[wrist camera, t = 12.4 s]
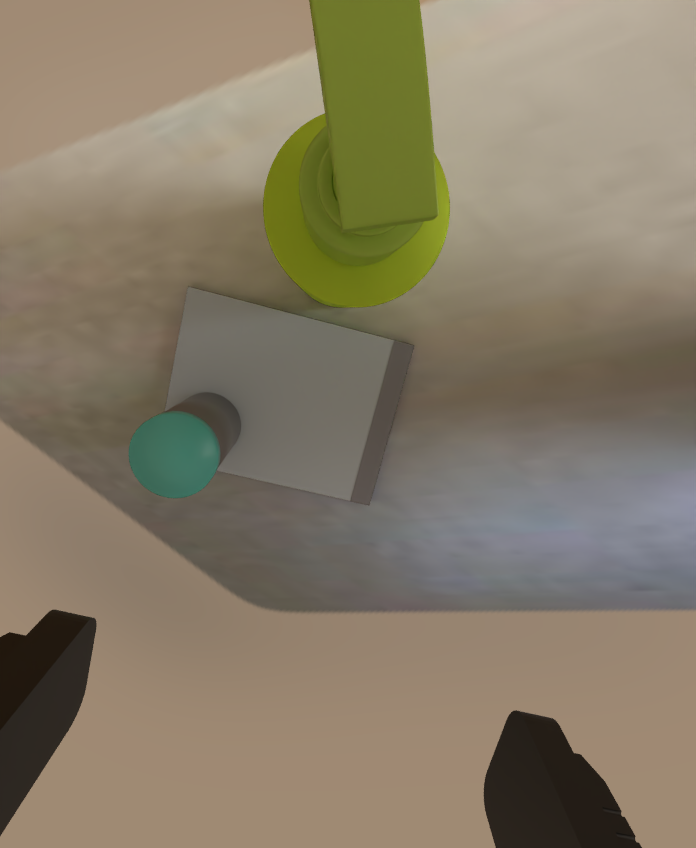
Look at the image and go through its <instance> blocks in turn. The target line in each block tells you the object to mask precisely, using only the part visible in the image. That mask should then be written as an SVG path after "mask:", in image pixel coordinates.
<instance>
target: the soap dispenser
mask: <svg viewBox="0 0 696 848" xmlns="http://www.w3.org/2000/svg"><path fill="white" fill-rule="evenodd" d="M309 2H310V9H311V16H312V23H313V30H314V36H315V45H316V52H317V59H318V66H319V73H320V80H321V87H322V95H323V102H324V109H325V114H322V115H320V116H318V117H316V118H314V119H312V120H311V121H309V122H307V123H306V124H304V125H303V126H302V127H300V128H299V129H298V130H297V131H296V132H295V133H294V134H293V135H292V136H291V137H290V138H289V139H288V140H287V141H286V142H285V144H284V145H283V146H282V148H281V149H280V151H279V152H278V154H277V156H276V158H275V160H274V162H273V164H272V166H271V169H270V171H269V174H268V177H267V181H266V185H265V191H264V200H263V215H264V223H265V229H266V233H267V237H268V240H269V243H270V246H271V248H272V251H273V253H274V255H275V257H276V258H277V260H278V262H279V263H280V265H281V267H282V268H283V269H284V271H285V272H286V273H287V274H288V276H289V277H290V278H291V279H292V280H293V281H294V282H295V283H296V284H297V285H298V286H299V287H300V288H301V289H303V290H304V291H305V292H306V293H307V294H308V295H309V296H310V297H312V298H313V299H315V300H316V301H318V302H320V303H322V304H325V305H328V306H332V307H339V308H347V307H369V306H375V305H379V304H383V303H386V302H388V301H391V300H393V299H395V298H397V297H399V296H401V295H403V294H404V293H406V292H407V291H409V290H410V289H411V288H413V287H414V286H415V285H416V284H417V283H418V282H419V281H420V280H421V279H422V278H423V277H424V276H425V275H426V274H427V273H428V271H429V270H430V269H431V267H432V266H433V264H434V263H435V261H436V259H437V257H438V255H439V254H440V251H441V249H442V247H443V244H444V241H445V238H446V234H447V230H448V224H449V216H450V200H449V191H448V186H447V182H446V178H445V175H444V172H443V169H442V167H441V164H440V162H439V160H438V158H437V157H436V155H435V153H434V145H433V133H432V121H431V109H430V98H429V86H428V76H427V65H426V55H425V46H424V36H423V27H422V19H421V11H420V3H419V0H309Z"/></svg>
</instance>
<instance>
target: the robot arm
mask: <svg viewBox="0 0 696 848" xmlns="http://www.w3.org/2000/svg"><path fill="white" fill-rule="evenodd" d="M95 632H96V620H95V618H91V617H86V616H81V615H77V614H72V613H68V612H63V611H59V610H51V611H50V612H49V613H48V614H46V615H45V616H44V617H43V619H41V621H40V622H39V623H38V624H37V625H36V626H35V627H34V628H33V629H32V630H31V631H30V632H29V633H28V634H27V635H26V636H25V635H20V634H15V633H10V632H9V633H7V634H6V635H4V636H2V637H0V836H1V834H2V832H3V831H4V829H5V828H6V826H7V825H8V823H9V822H10V820H11V818H12V817H13V815H14V814H15V812H16V811H17V809H18V807H19V806H20V804H21V803H22V801H23V800H24V798H25V797H26V795H27V794H28V792H29V791H30V789H31V787H32V786H33V784H34V783H35V781H36V780H37V778H38V777H39V775H40V773H41V772H42V770H43V769H44V767H45V766H46V764H47V763H48V761H49V759H50V758H51V756H52V755H53V753H54V752H55V750H56V749H57V747H58V746H59V744H60V742H61V741H62V739H63V738H64V736H65V735H66V733H67V732H68V730H69V728H70V727H71V725H72V723H73V721H74V719H75V717H76V715H77V713H78V711H79V708H80V706H81V703H82V700H83V697H84V694H85V690H86V684H87V678H88V673H89V667H90V661H91V655H92V650H93V644H94V638H95ZM484 805H485V811H486V815H487V818H488V822H489V825H490V829H491V832H492V836H493V839H494V843H495V846H496V848H642V847H641V846H640V844H639V843H637V842H636V841H635V835H634V833H633V831H632V829H631V828H630V826H629V824H628V822H627V820H626V819H625V817H622V816H621V810H620V808H619V806H618V804H617V802H616V801H615V799H614V797H613V795H612V794H611V792H610V790H609V788H608V786H607V785H606V783H605V781H604V780H603V779H602V778H601V777H600V776H599V774H598V773H597V772H596V771H595V770H594V769H593V768H592V767H591V766H590V764H589V763H588V762H587V761H586V760H585V759H584V758H583V757H582V756H581V755H580V754H575V753H573V751H572V749H571V747H570V745H569V743H568V741H567V739H566V737H565V735H564V733H563V732H562V730H561V728H560V726H559V724H558V723H557V722H556V721H555V720H554V719H552V718H548V717H543V716H539V715H534V714H529V713H525V712H520V711H513V712H511V714H510V715H509V716H508V718H507V721H506V723H505V726H504V729H503V731H502V734H501V736H500V739H499V742H498V744H497V747H496V750H495V752H494V755H493V757H492V760H491V762H490V766H489V768H488V770H487V774H486V777H485V783H484Z"/></svg>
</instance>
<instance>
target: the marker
mask: <svg viewBox="0 0 696 848" xmlns="http://www.w3.org/2000/svg"><path fill="white" fill-rule="evenodd" d="M240 431H241V420H240V416H239V413H238V411H237V409H236V408H235V406H234V405H233V404H232V403H231V402H230V401H229V400H228V399H226V398H225V397H223V396H221V395H218V394H215V393H209V392H203V393H198V394H195V395H193V396H190V397H189V398H187V399H185V400H184V401H182V402H180V403H179V404H177V405H175V406H173V407H172V408H170V409H168V410H167V411H165V412H163V413H161V414H158V415H156V416H154V417H153V418H151V419H149V420H148V421H146V422H144V423H143V424H142V425H141V426H140V427H139V428H138V429H137V430H136V432H135V433H134V435H133V437H132V439H131V442H130V446H129V462H130V466H131V468H132V471H133V473H134V475H135V477H136V478H137V479H138V481H139V482H140V483H141V484H142V485H143V486H144V487H145V488H147V489H148V490H150V491H151V492H153V493H155V494H157V495H160V496H163V497H168V498H183V497H187V496H191V495H193V494H195V493H197V492H199V491H200V490H202V489H203V488H204V487H205V486H206V485H207V484H208V483H209V481H210V480H211V479H212V477H213V476H214V474H215V473H216V471H217V469H218V467H219V466H220V464H221V463H222V461H223V460H224V459H225V457H226V456H227V454H228V453H229V452H230V450H231V449H232V447H233V446H234V445H235V443H236V442H237V440H238V438H239V435H240Z"/></svg>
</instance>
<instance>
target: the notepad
mask: <svg viewBox="0 0 696 848" xmlns="http://www.w3.org/2000/svg"><path fill="white" fill-rule="evenodd" d="M413 349H414V345H411V344H407V343H403V342H399V341H395V340H392V339H388V338H384V337H380V336H376V335H372V334H369V333H365V332H361V331H357V330H353V329H350V328H346V327H342V326H338V325H334V324H330V323H327V322H323V321H319V320H315V319H311V318H307V317H304V316H300V315H296V314H292V313H288V312H284V311H281V310H277V309H273V308H269V307H265V306H261V305H258V304H254V303H250V302H246V301H242V300H238V299H235V298H231V297H227V296H223V295H219V294H215V293H212V292H208V291H204V290H200V289H196V288H192V287H188V289H187V295H186V300H185V305H184V311H183V316H182V321H181V327H180V332H179V337H178V343H177V348H176V353H175V359H174V364H173V369H172V375H171V380H170V385H169V391H168V396H167V401H166V407H165V411H167V410H168V409H170V408H172V407H173V406H175V405H177V404H179V403H180V402H182V401H184V400H185V399H187V398H189V397H190V396H193V395H195V394H198V393H203V392H209V393H215V394H218V395H221V396H223V397H225V398H226V399H228V400H229V401H230V402H231V403H232V404H233V405H234V406H235V408H236V409H237V411H238V413H239V416H240V420H241V431H240V435H239V438H238V440H237V442H236V443H235V445H234V446H233V447H232V449H231V450H230V452H229V453H228V454H227V456H226V457H225V459H224V460H223V461H222V463H221V464H220V466H219V467H218V469H217V471H220V472H224V473H229V474H233V475H238V476H242V477H246V478H251V479H255V480H260V481H264V482H269V483H273V484H277V485H282V486H286V487H291V488H295V489H299V490H304V491H308V492H313V493H317V494H322V495H326V496H330V497H335V498H339V499H344V500H348V501H352V502H356V503H360V504H365V505H370V501H371V498H372V494H373V491H374V487H375V484H376V480H377V477H378V473H379V469H380V466H381V462H382V459H383V455H384V452H385V448H386V445H387V441H388V438H389V434H390V430H391V427H392V423H393V420H394V416H395V413H396V409H397V406H398V402H399V398H400V395H401V391H402V388H403V384H404V381H405V377H406V374H407V370H408V367H409V363H410V359H411V356H412V352H413Z"/></svg>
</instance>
